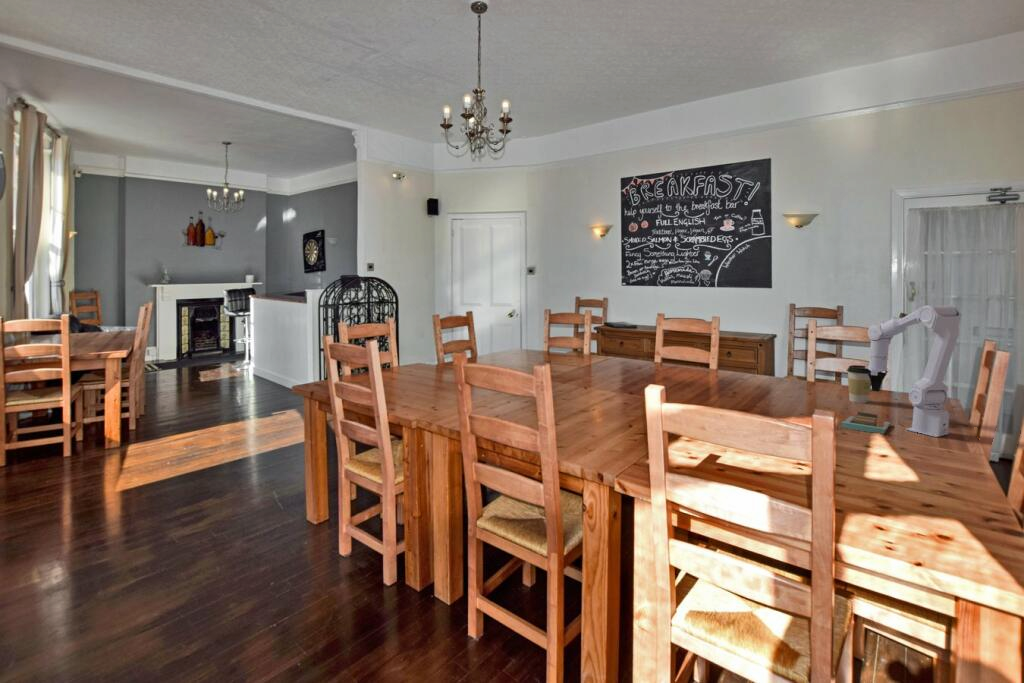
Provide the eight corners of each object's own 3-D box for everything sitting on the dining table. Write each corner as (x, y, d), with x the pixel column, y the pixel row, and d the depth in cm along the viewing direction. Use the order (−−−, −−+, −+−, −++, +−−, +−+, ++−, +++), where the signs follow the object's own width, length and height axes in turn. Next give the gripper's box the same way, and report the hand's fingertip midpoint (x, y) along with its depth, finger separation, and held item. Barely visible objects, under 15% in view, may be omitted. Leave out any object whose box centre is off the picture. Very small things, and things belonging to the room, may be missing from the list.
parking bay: (849, 419, 200) (850, 414, 200) (889, 425, 191) (890, 420, 191) (841, 427, 189) (841, 422, 189) (883, 434, 181) (883, 429, 181)
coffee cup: (877, 404, 221) (880, 369, 220) (853, 404, 222) (856, 369, 220) (862, 398, 231) (865, 364, 229) (839, 398, 231) (842, 365, 229)
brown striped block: (857, 423, 194) (858, 411, 194) (876, 426, 190) (877, 414, 189) (853, 427, 189) (854, 415, 188) (873, 431, 185) (874, 418, 184)
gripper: (869, 353, 211) (867, 386, 213) (862, 357, 200) (859, 392, 202) (891, 354, 206) (888, 388, 208) (885, 359, 196) (882, 395, 197)
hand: (875, 390), depth 205 cm, fingers closed
